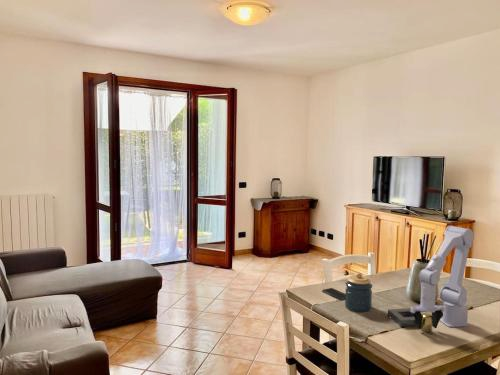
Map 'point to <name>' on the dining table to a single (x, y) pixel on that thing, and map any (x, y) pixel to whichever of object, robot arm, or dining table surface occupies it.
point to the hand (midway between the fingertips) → (426, 327)
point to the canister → (358, 293)
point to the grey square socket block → (402, 317)
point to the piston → (426, 323)
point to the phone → (334, 293)
